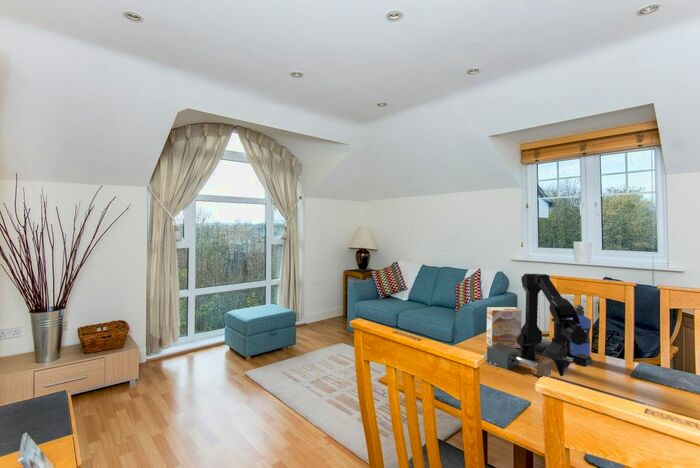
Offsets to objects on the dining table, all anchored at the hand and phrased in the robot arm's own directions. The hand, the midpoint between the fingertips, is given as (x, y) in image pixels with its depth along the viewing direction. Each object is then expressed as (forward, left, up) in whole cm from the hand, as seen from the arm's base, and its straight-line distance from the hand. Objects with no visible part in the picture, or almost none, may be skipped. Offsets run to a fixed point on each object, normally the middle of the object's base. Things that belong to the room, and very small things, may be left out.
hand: (561, 375), depth 135 cm
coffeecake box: (-20, -38, -4) cm, 43 cm away
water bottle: (-33, -9, -4) cm, 34 cm away
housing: (0, -25, -4) cm, 25 cm away
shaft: (0, -14, -2) cm, 14 cm away
